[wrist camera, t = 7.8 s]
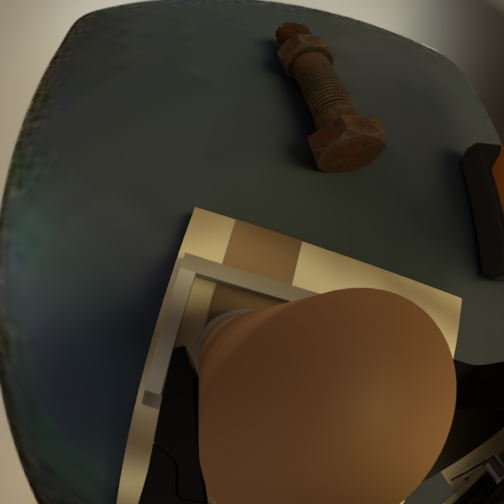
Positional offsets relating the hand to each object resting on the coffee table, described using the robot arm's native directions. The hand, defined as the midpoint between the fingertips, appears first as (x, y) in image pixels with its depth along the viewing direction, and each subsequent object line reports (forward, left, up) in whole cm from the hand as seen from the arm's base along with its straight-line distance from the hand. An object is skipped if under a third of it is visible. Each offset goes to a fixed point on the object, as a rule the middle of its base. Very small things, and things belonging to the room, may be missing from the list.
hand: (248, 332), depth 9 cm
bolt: (+19, -1, -8) cm, 21 cm away
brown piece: (-1, -1, -6) cm, 6 cm away
